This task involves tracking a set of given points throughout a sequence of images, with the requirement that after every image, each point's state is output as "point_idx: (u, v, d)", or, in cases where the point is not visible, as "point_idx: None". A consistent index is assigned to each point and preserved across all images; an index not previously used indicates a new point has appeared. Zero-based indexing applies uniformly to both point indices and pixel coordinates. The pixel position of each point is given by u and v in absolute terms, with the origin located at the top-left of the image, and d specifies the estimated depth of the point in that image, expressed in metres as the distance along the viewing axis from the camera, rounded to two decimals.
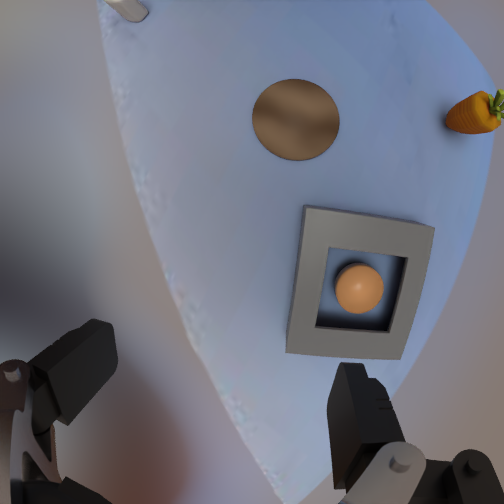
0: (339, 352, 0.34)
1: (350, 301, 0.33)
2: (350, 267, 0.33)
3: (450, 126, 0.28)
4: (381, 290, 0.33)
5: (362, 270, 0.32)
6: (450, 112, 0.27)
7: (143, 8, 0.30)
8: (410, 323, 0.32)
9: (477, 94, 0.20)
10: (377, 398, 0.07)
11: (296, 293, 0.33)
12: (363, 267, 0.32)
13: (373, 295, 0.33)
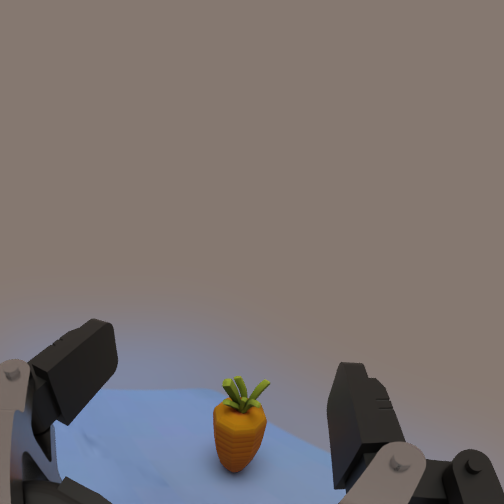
0: None
1: None
2: None
3: (239, 469, 0.23)
4: None
5: None
6: (223, 461, 0.23)
7: None
8: None
9: (216, 417, 0.22)
10: (377, 398, 0.07)
11: None
12: None
13: None
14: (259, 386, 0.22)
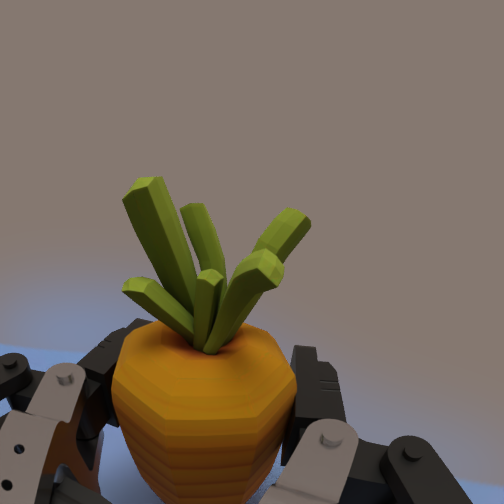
0: None
1: None
2: None
3: None
4: None
5: None
6: None
7: None
8: None
9: (117, 366, 0.06)
10: (326, 380, 0.08)
11: None
12: None
13: None
14: (271, 232, 0.06)
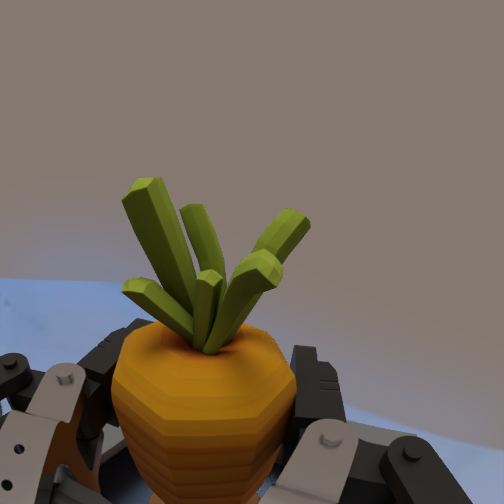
0: None
1: None
2: None
3: None
4: None
5: None
6: None
7: None
8: None
9: (117, 366, 0.06)
10: (326, 380, 0.08)
11: None
12: None
13: None
14: (270, 233, 0.06)
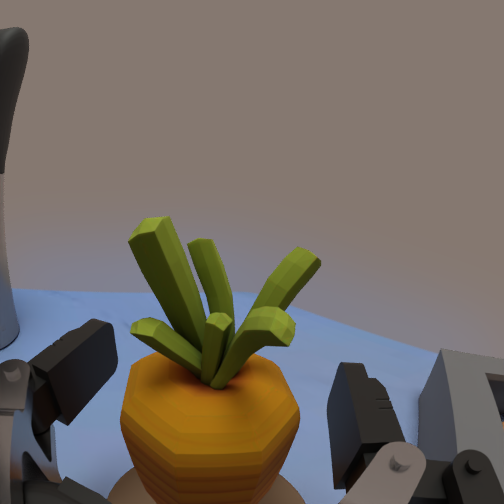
0: None
1: None
2: None
3: None
4: None
5: None
6: None
7: None
8: None
9: (125, 396, 0.06)
10: (377, 398, 0.07)
11: None
12: None
13: None
14: (281, 273, 0.06)
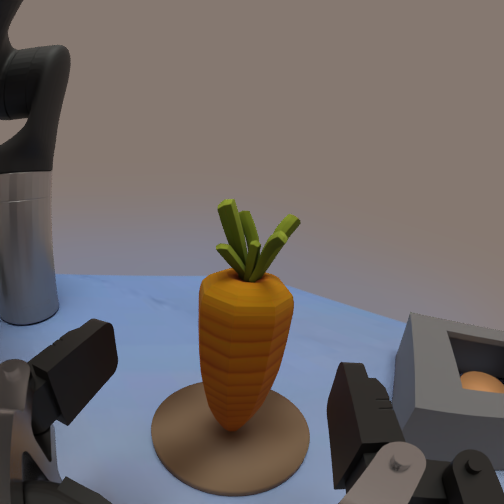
0: None
1: None
2: None
3: (241, 420, 0.15)
4: (477, 372, 0.19)
5: (464, 387, 0.18)
6: (212, 402, 0.15)
7: None
8: (502, 331, 0.22)
9: (203, 290, 0.14)
10: (377, 398, 0.07)
11: None
12: None
13: (484, 378, 0.18)
14: (281, 225, 0.14)
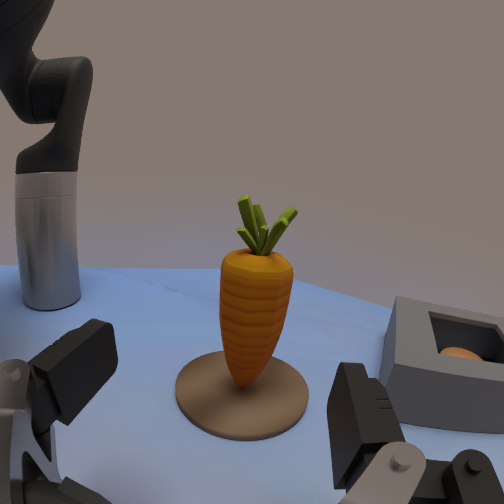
0: None
1: None
2: None
3: (252, 373, 0.20)
4: (457, 348, 0.24)
5: None
6: (230, 356, 0.20)
7: None
8: (481, 314, 0.26)
9: (226, 263, 0.18)
10: (377, 398, 0.07)
11: (499, 379, 0.14)
12: None
13: (464, 353, 0.23)
14: (283, 215, 0.19)
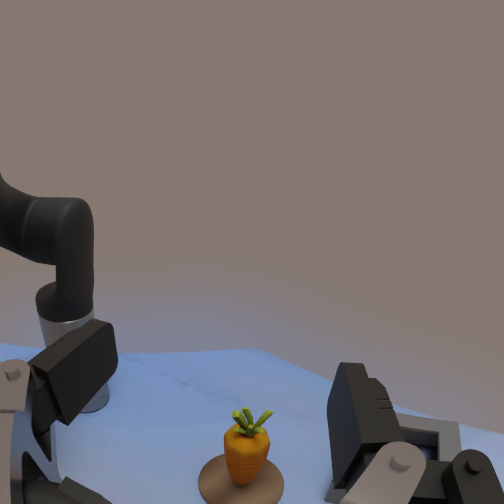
0: None
1: None
2: None
3: (246, 482, 0.26)
4: None
5: None
6: (232, 476, 0.26)
7: None
8: (430, 419, 0.32)
9: (227, 441, 0.25)
10: (377, 398, 0.07)
11: None
12: None
13: None
14: (263, 415, 0.25)
